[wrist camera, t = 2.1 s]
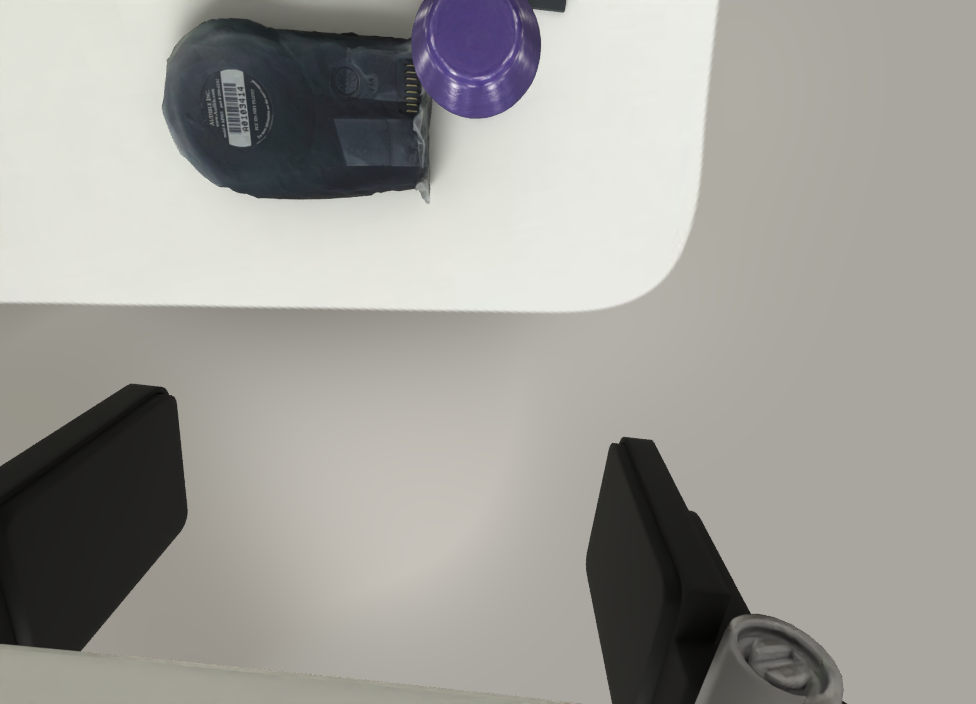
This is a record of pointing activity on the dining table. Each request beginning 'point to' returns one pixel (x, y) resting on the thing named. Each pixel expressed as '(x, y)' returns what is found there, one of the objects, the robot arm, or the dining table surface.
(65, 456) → the robot arm
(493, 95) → the toy lamp
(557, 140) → the dining table surface
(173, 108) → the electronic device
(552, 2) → the mat
